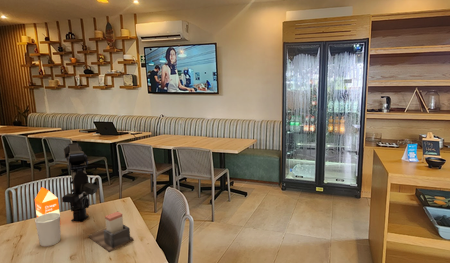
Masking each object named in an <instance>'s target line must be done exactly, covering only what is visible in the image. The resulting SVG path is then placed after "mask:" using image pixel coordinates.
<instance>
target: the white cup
mask: <svg viewBox="0 0 450 263" xmlns="http://www.w3.org/2000/svg"><path fill="white" fill-rule="evenodd" d="M34 222H35V227H36V232H37V233H36V234H37V237H38V241H39V245H40V246H41V247H51V246H53V245H56V244H58V243H59V242H60V241H61V236H62V234H61V233H62V231H61V225H60V223H61V214H59V213H48V214H44V215H41V216H39V217H37V216H36V218H35V220H34Z"/></svg>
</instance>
